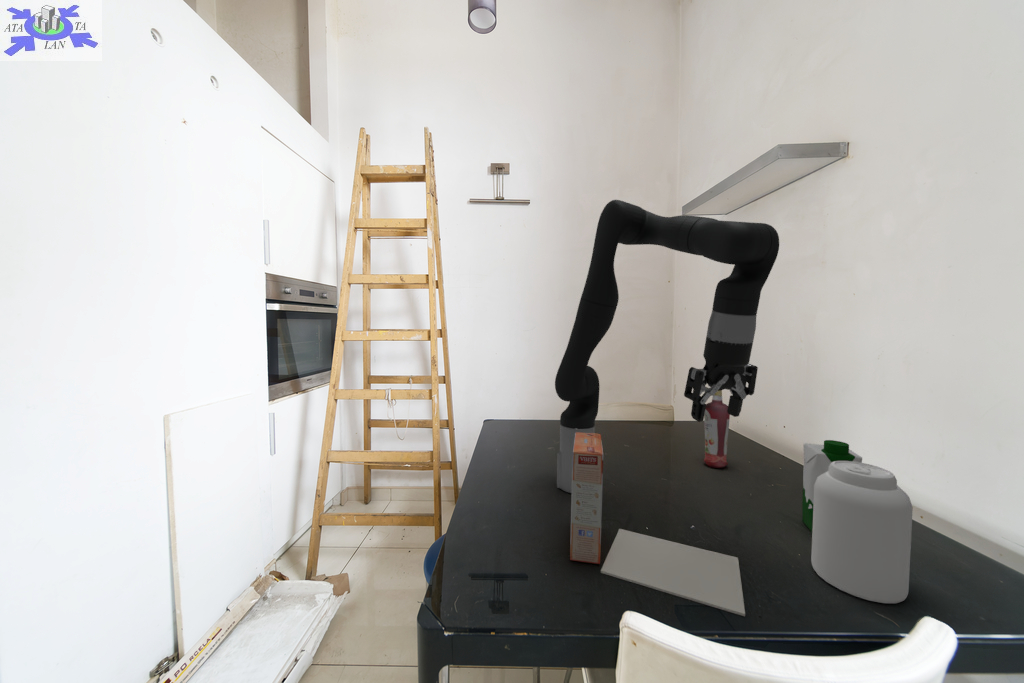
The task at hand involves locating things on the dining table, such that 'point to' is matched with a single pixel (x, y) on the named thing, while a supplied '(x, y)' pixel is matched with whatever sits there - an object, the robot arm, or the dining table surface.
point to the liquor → (716, 432)
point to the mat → (677, 570)
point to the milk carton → (820, 470)
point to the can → (862, 531)
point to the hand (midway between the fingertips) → (715, 417)
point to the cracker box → (586, 498)
